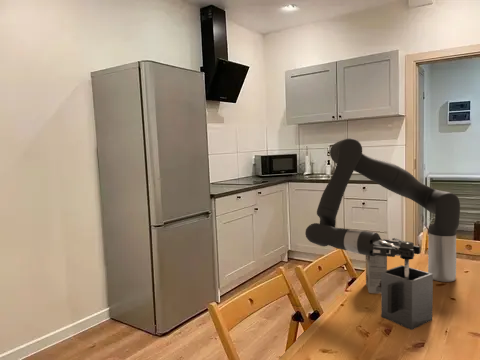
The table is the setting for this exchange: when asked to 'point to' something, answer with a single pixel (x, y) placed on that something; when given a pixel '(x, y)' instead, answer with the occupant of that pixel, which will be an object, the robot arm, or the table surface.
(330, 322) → the table surface
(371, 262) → the coffee box
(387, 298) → the box
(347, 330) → the table surface
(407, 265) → the plunger
